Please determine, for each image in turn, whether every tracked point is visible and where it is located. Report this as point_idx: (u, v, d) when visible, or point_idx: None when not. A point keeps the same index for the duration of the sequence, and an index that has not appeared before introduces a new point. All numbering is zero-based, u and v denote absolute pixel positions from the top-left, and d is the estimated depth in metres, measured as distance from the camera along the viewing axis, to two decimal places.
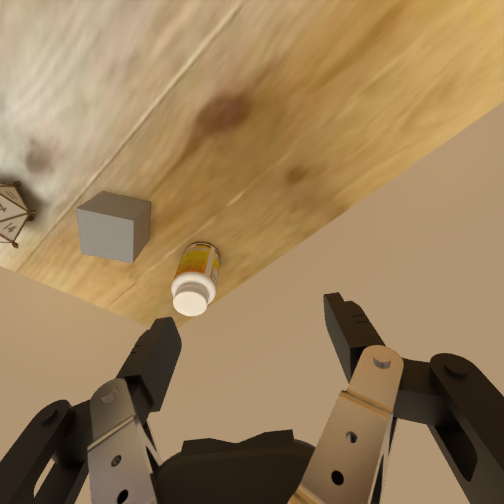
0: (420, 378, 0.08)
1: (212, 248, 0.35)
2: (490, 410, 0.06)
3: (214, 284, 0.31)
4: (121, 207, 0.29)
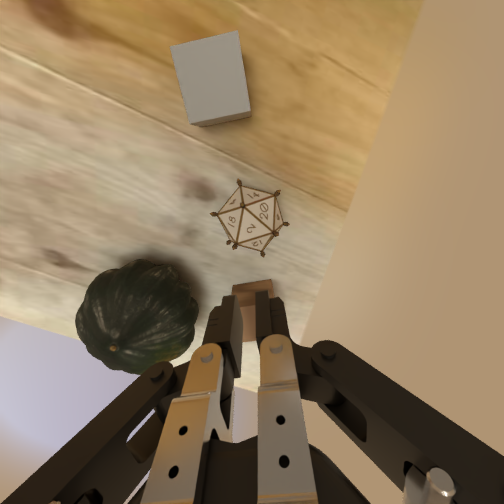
0: (305, 361, 0.09)
1: None
2: (359, 375, 0.08)
3: None
4: None
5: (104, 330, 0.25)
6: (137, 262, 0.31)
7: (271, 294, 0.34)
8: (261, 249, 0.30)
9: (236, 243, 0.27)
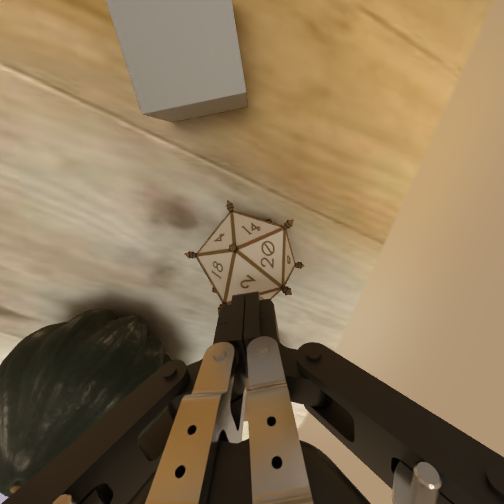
0: (291, 363, 0.09)
1: None
2: (344, 375, 0.08)
3: None
4: None
5: (6, 454, 0.15)
6: (82, 319, 0.21)
7: None
8: None
9: (224, 303, 0.17)
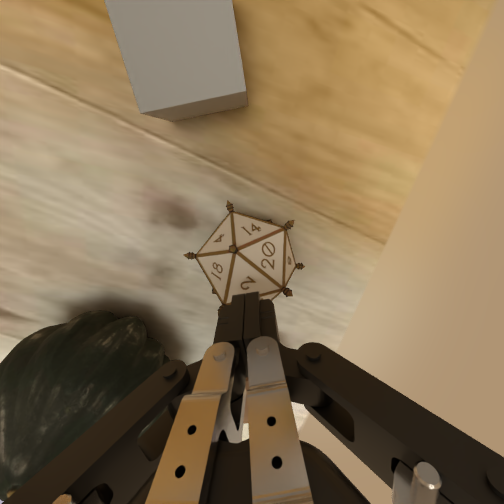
0: (291, 363, 0.09)
1: None
2: (344, 375, 0.08)
3: None
4: None
5: (2, 458, 0.15)
6: (80, 321, 0.21)
7: None
8: None
9: None
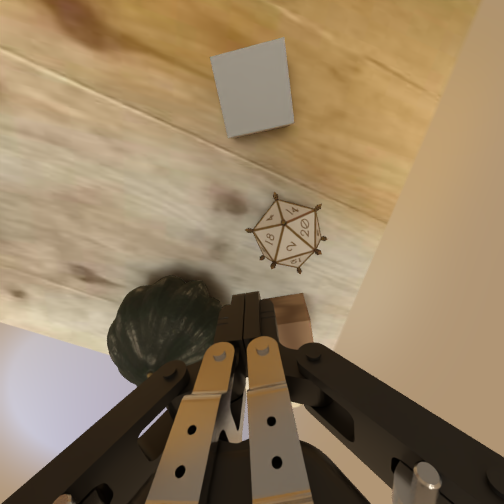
0: (291, 363, 0.09)
1: None
2: (344, 375, 0.08)
3: None
4: None
5: (140, 356, 0.24)
6: (167, 280, 0.30)
7: (305, 311, 0.32)
8: (298, 266, 0.28)
9: (274, 262, 0.25)
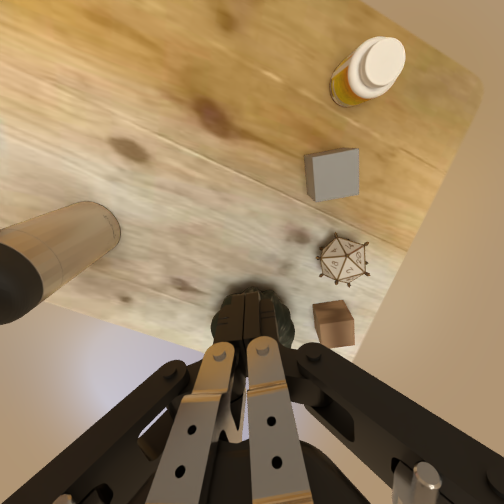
0: (291, 363, 0.09)
1: (332, 76, 0.33)
2: (345, 375, 0.08)
3: (360, 45, 0.26)
4: (309, 173, 0.35)
5: None
6: (254, 290, 0.42)
7: (349, 313, 0.45)
8: (349, 282, 0.41)
9: (337, 280, 0.38)
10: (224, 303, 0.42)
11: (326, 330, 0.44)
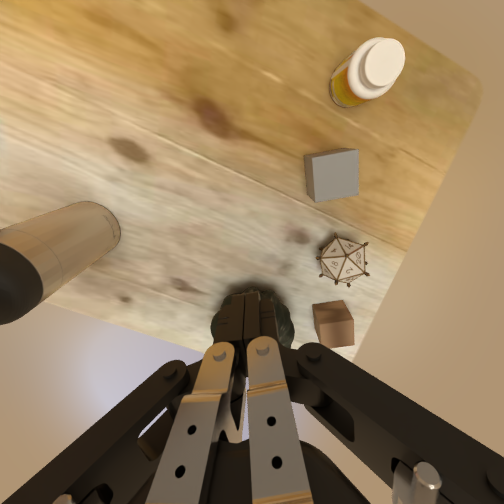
0: (291, 363, 0.09)
1: (332, 76, 0.33)
2: (344, 375, 0.08)
3: None
4: (309, 174, 0.35)
5: None
6: (254, 290, 0.42)
7: (348, 313, 0.45)
8: (348, 282, 0.41)
9: (337, 280, 0.38)
10: (224, 303, 0.42)
11: (326, 330, 0.44)
